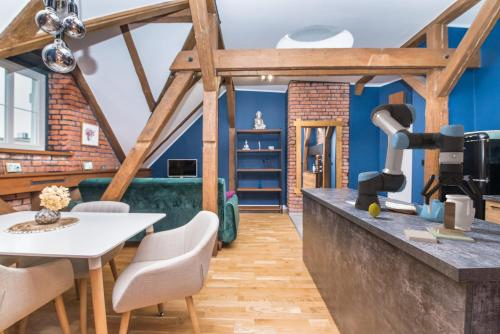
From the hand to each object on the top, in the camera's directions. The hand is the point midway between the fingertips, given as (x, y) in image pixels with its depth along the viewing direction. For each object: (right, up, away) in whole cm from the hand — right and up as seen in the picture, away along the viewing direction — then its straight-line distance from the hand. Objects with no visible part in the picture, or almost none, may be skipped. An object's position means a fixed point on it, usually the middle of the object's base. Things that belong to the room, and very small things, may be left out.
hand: (449, 214), depth 104 cm
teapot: (+14, -8, +27) cm, 31 cm away
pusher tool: (0, -8, 0) cm, 8 cm away
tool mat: (0, -9, 0) cm, 9 cm away
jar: (+13, -9, +10) cm, 18 cm away
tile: (-12, -8, +2) cm, 15 cm away
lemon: (-16, -8, +30) cm, 35 cm away
